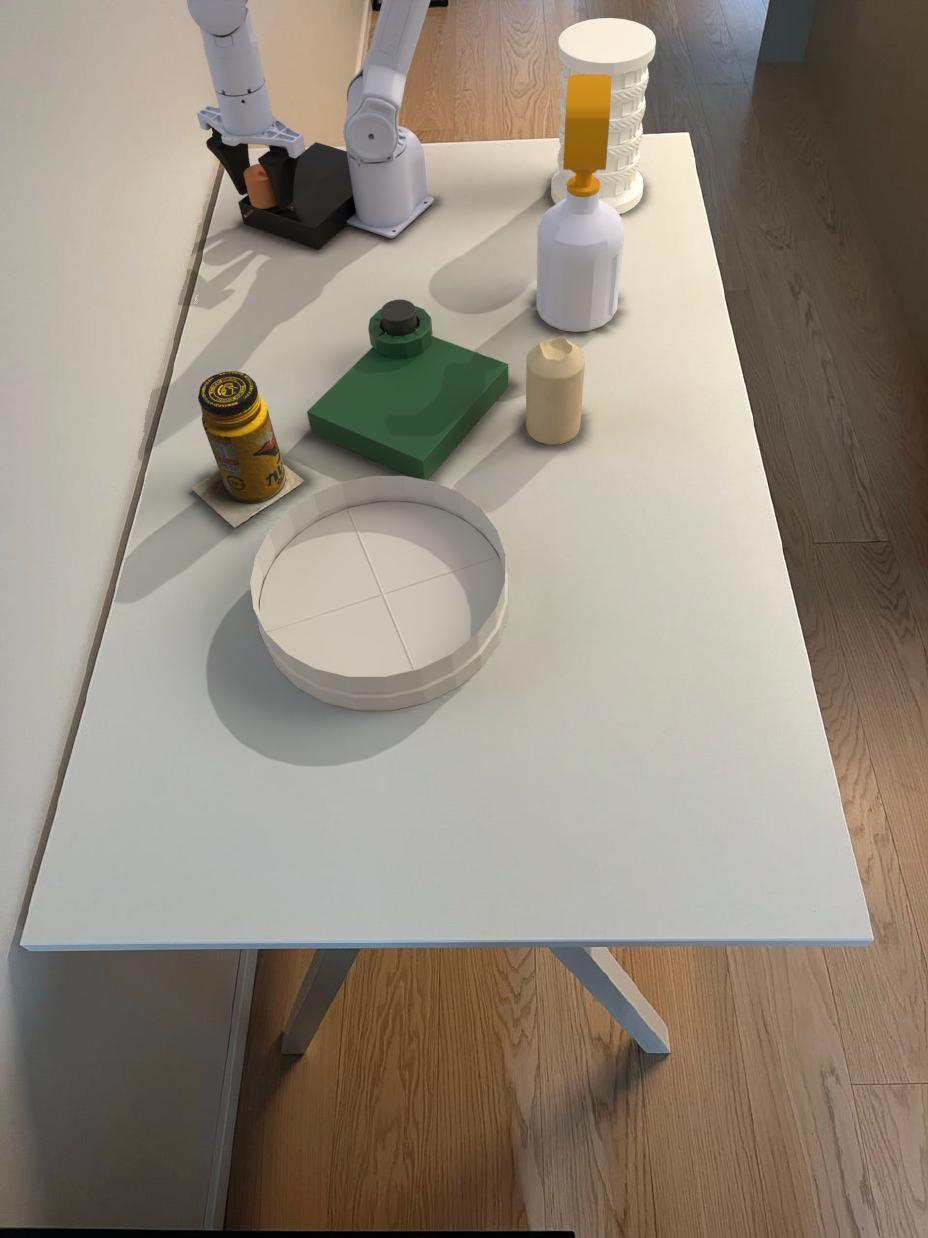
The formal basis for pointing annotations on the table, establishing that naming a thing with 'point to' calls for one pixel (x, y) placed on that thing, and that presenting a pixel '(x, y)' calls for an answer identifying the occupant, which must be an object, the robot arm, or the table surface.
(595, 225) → the soap bottle
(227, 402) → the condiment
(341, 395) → the button base
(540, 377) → the candle
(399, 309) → the dark grey short cylinder
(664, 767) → the table surface
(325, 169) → the panel
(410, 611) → the dish
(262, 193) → the dial
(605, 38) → the decorative container
